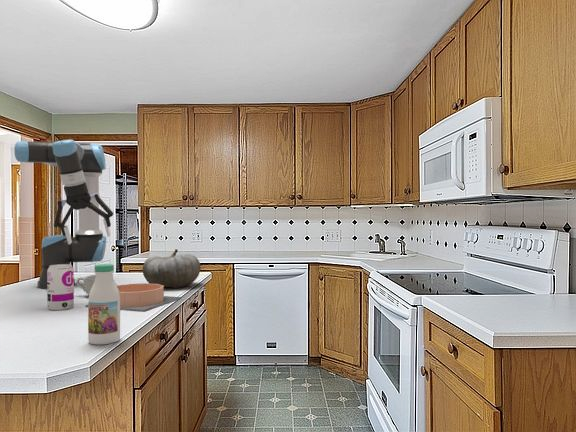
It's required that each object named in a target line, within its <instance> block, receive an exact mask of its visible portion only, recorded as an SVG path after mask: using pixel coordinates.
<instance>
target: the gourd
mask: <svg viewBox="0 0 576 432" xmlns="http://www.w3.org/2000/svg"><path fill="white" fill-rule="evenodd" d="M178 251H179V250H178V249H176V248H175V249H174V251H173V253H172V254H171V255H170V256H165V257H162V256H158V255H153V256H149V257H148V258H146V260H145V261H144V263H143V265H142V274H143V276H144V278H145V280H146V283H150V284H160V285H164V288H172V289H178V288H183V287H185V286H190V285H191V284H193V283H194V282H195V281H196V279H197V278H199V275H200V273H201V272H200V271H201V268H202V267H201V262H200V260H199V259H198V257H197V256H195V255H193V254H189V253H186V254H182V253H180V254H177V253H178Z"/></svg>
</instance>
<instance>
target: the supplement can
mask: <svg viewBox="0 0 576 432" xmlns="http://www.w3.org/2000/svg"><path fill="white" fill-rule="evenodd" d="M74 270H75V268H74V267H73V264H72V263H71V264H58V265H50V266H49V268H48V270H47V289H46V290H47V291H46V292H47V298H46V299H47V300H46V301H47V306H46V307H47V309H49V310H50V311H64V310H68V309H69V310H70V309H72V308H73V307H74V306H75V302H74V301H75V295H74V294H75V288H74V287H75V285H74V279H75V275H74V274H75V271H74Z"/></svg>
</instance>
